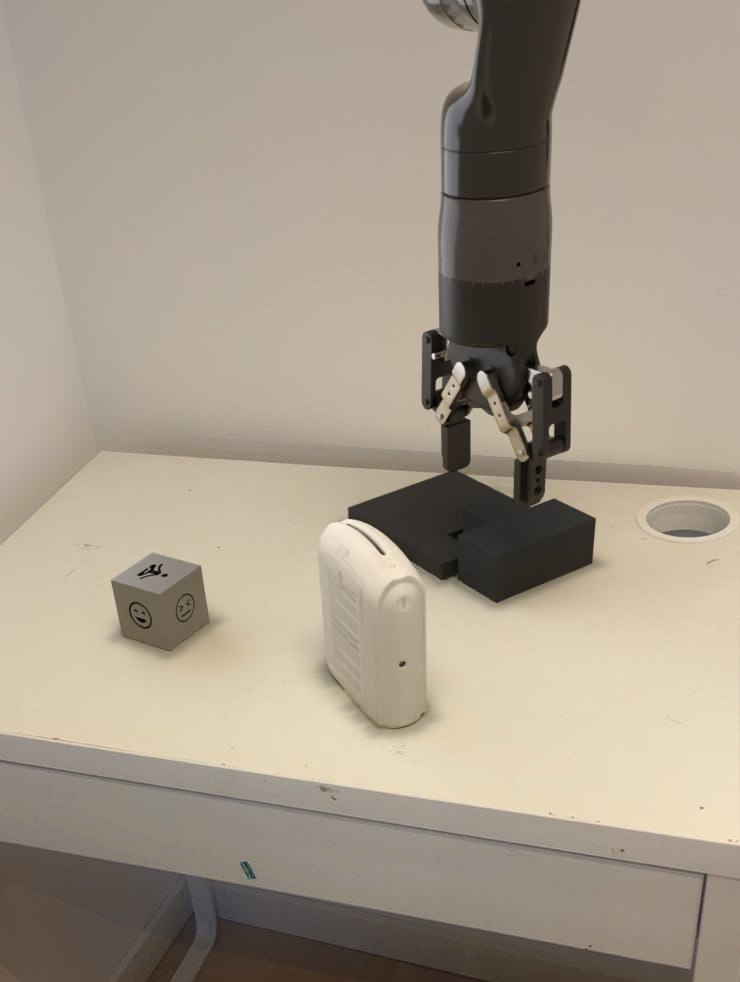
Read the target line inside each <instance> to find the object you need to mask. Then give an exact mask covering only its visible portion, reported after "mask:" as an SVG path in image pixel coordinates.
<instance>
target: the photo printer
mask: <svg viewBox="0 0 740 982" xmlns="http://www.w3.org/2000/svg"><path fill="white" fill-rule="evenodd" d="M317 562H318V563H317V564H318V575H319V588H320V602H321V614H322V615H321V617H322V629H323V643H324V655H325V661H326V664H327V667H328V670H329V672H330V673H331V674H332V676H333V677H334V678H335V679H336V681H337V682H338V683H339V684H340V686H341V687H342V688H343V689H344V690H345V692H346V693H347V694H348V695H349V696H350V697H351V699H352V700H353V701H354V702H355V703H356V704H357V705H358V707H360V709H361V710H362V712H363V713H365V714H366V716H368V717H369V718H370V719H371V720H372V722H374V723H375V724H377V725H378V726H379V727H383V726H384V727H386V728H388V729H397V728H403V727H407V726H409V725H411V724H413V723H415V722H417V721H418V720H419V719H420V718H421V715H422V714H424V713H425V712H426V709H427V701H428V700H427V698H428V697H427V693H428V692H427V691H428V688H427V687H428V686H427V684H428V683H427V680H428V679H427V599H426V598H427V595H426V589H425V586H424V584H423V581H422V578H421V576H420V575H419V573H418V571H417V570H416V568H415V567H414V565H413V564H412V561H411V560H409V559H408V558H407V557H406V556H405V554H404V553H403V552H402V551H401V550H400V549H399V548H398V547H397V546H396V545H395V544H394V543H393V542H392V541H391V540H390V539H389V538H388V537H387V536H385V535H384V534H383V533H382V532H380V531H379V530H377V529H376V528H374V527H372V526H371V525H369V524H366V523H364V522H361V521H357V520H352V519H348V518H345V519H343V520H342V521H338V522H337V521H336V522H335V521H334V522H333V521H332V522H331V523H329V524H328V525H327V526H326V527H325V529H324V530H323V531H322V533H321V535H320V537H319V541H318V544H317Z"/></svg>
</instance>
